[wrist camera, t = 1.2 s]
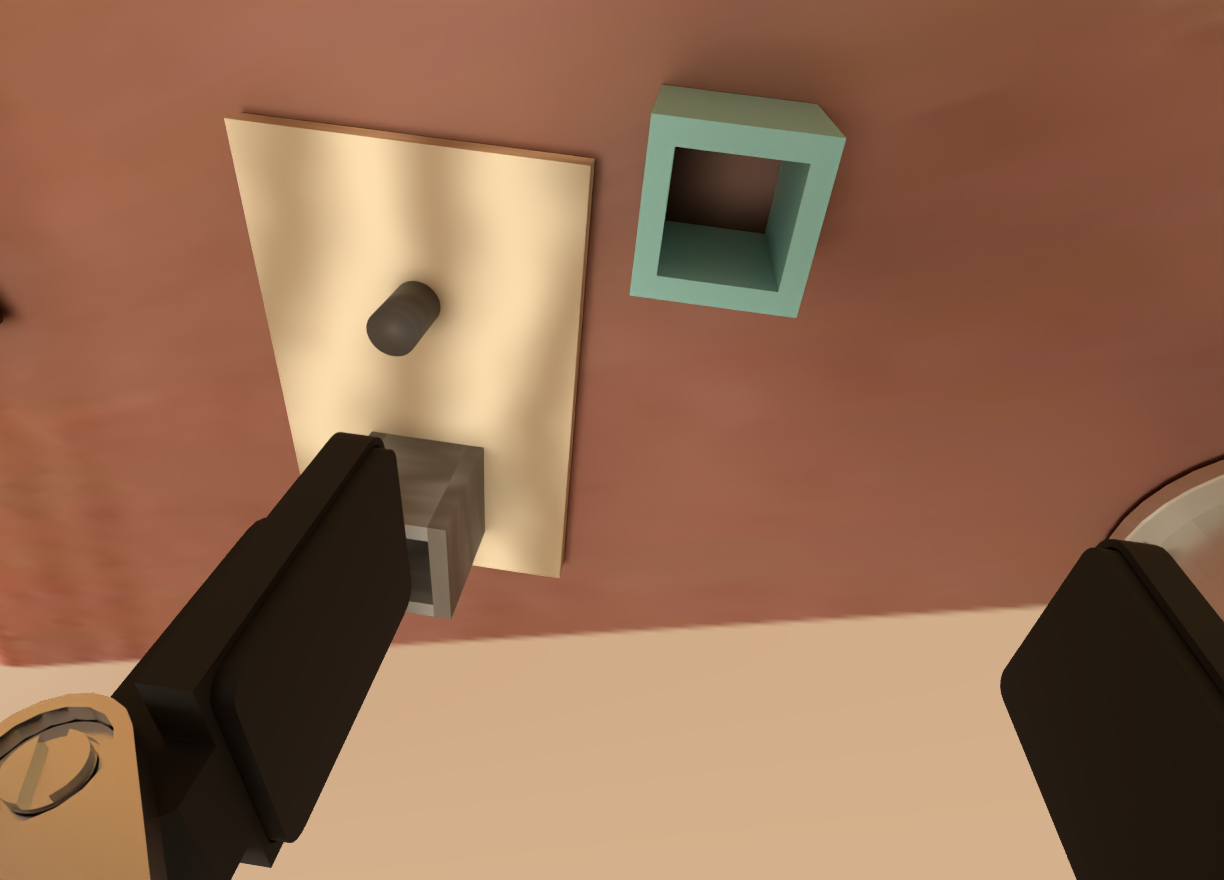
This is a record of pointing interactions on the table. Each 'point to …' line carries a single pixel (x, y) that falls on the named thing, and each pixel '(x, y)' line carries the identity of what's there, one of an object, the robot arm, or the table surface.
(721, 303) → the teal wall cubby
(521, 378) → the seat plate
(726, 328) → the table surface
